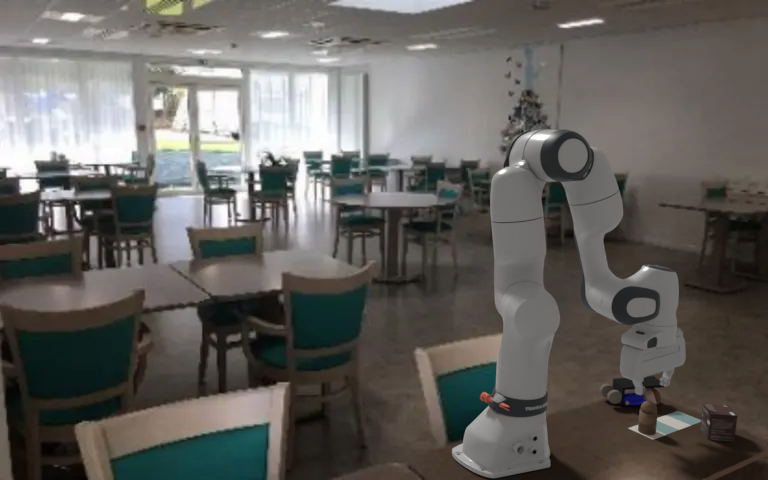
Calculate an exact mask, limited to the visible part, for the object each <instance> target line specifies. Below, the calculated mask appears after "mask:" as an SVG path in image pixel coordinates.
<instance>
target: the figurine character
mask: <svg viewBox="0 0 768 480" xmlns="http://www.w3.org/2000/svg"><path fill="white" fill-rule="evenodd" d="M642 385H643V387H646V388H645V394H643V395H638V394H636V393H635V391H634V392H626V391H627V390H629V391H630V390H635V386H634V383H633V381H632V380H630V379H627V378H624V377H617V378H616V377H615V378H613V379H612V384H610V383H603V384H602V385H600V387H599V393H600V394H601V396H603V397H605V398H606V399H607V400H608V401H609V402H610V403H611V404H614V405H615V404H618V405H620V406H622V407H623V406H641V404H642V403H643V402H644V401H652V402H654V403H655V405H656V406H658V405H659V404H660V403H661V400H662V396H661V393H660V391H658V388H659V389H660V388H665V387H664V386H661V385H660V379H659V378H657V377H656V376H655V375H650V376H647V377H644V379H643V382H642Z"/></svg>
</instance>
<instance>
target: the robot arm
mask: <svg viewBox="0 0 768 480" xmlns="http://www.w3.org/2000/svg"><path fill="white" fill-rule="evenodd" d="M547 182H548V183H550V182H551V183H552V182H555V183H556V182H560V183H561V185H562V187H563V189H564V192H565V196H566V199H567V202H568V206H569V209H570V210H569V211H570V213H571V217H572V222H573V235H574V242H575V247H576V251H577V257H578V262H579V266H580V272H581V284H580V298H581V301H582V304H583V306H584V307H585V308H586V309H587V310H588V311H590V312H592V313H595V314H598V315H601V316H604V317H605V318H607V319H609V320H612V321H614V322H617V323H618V324H622V325H626V326H631V327H630V328H629V329H628V330H626V331H625V332H624V333H623V334H622V335H621V339H620V340H621V341H620V342H621V343H622V344H623V346H622V348H621V350H620V359H619V361H620V364H619V370H620V374H621V377H622V378H627V379H630V380H632V381H633V383H634V386H635V389H634V392H635V393H636V394H638V395H643V394H645V388H646V387H643V385H642V382H643V379H644V377H647V376H654V375H656V374H659V373H663V374H662V376H661V377H660V378H659V381H660V385H661V386H664V387H663V388H666V387H669V386H670V385H671V379H672V376H673V375H674V373H675V369H676V368H678V367H681V366H683V365H684V363H685V362H686V359H687V358H686V357H687V355H686V350H687V349H686V339H685V338H684V332H683V330H682V329H681V328H680V327H678V318H677V309H678V307H679V298H680V296H679V295H680V289H679V288H680V285H679V278H678V274H677V272H676V271H675V270H673V269H672V268H669V267H667V266H662V265H658V264H649V263H648V264H647V263H646V264H643V265H642V266H641V268H640V269H639V270H638V271H637V272H635V273H634V274H633V275H631V276H629V277H627V278H623V279H622V278H620V277H617V276H616V275H615V274H614V273H613V272H612V271H611V270H610V268H609V265H608V259H607V253H606V249H605V244H604V238H605V236H606V234H607V233H610V232H611V231H613V230H614V229H615V228H616V227H617V226H619V224H620V222H621V221H622V219H623V217H624V205H623V198H622V196H621V195H622V194H621V191H620V189H619V185H618V182H617V178H616V176H615V174H614V171H613V168H612V166H611V164H610V162H609V160H608V158H607V156H606V154H605V152H604V151H603V150H602V149H600V148H599V147H596V146H591V145H590V143H588V141H587V140H586V138H585V137H584V136H583V135H581V134H580V133H579V132H576V131H573V130H572V129H571V130H570V129H562V128H561V129H551V128H541V129H536V130H528V131H524V132H521V133H520V134H518V135H516V136H514V138H513V139H512V140H511V141H510V143H509V144H508V146H507V149H506V153H505V159H504V162H503V168H501V169H499V170H498V171H497V172H495V173H494V175H493V176H492V179H491V183H490V193H489V195H490V196H489V200H490V201H489V202H490V203H489V204H490V205H489V209H490V210H489V211H490V212H489V213H490V224H491V234H492V245H493V258H494V259H493V260H494V263H493V264H494V266H493V286H494V287H493V288H494V289H493V291H494V293H493V295H494V296H493V297H494V304H495V308H496V310H497V312H498V314H499V315H500V316H501V318H502V322H503V323H502V324H503V325H502V328H503V331H502V336H501V340H500V346H499V350H498V352H497V354H496V368H495V369H496V372H495V373H496V374H495V386H494V388H492V389H493V390H492V393H491V394H489V393H487V392H486V391H483V392H482V393H481V394H480V395H479V400H480V401H482V402H485V403H486V404H488V406H486V408H484V410H483V411H482V412H481V413H479V415H478V416H477V417H475V419H474V420H473V421H472V422H471V423H470V424H468V426H466V428H465V431H464V434H463V441H462V443H460V444H458V445H456V446H454V447H452V448H451V454H452V455H451V456H452V457H453V458H454V460H455V461H456V462H458V463H459V464H460V465H461V466H462V467H464V468H466V469H467V470H469V471H471V472H472V473H474V474H476V475H478V476H479V475H480V476H482V477H485V478H489V479H498V478H502V477H503V478H504V477H508V476H513V475H517V474H523V473H528V472H532V471H538V470H544V469H549V468H550V467H551V463H552V462H551V459H550V456H551V449H550V447H549V440H548V439H549V437H548V436H549V435H548V426H547V417H546V412H547V410H548V404H549V392H548V391H547V383H548V371H549V370H548V369H549V368H548V367H549V358H550V354H551V349H552V345H553V342H554V339H555V338H554V337H555V334H556V332H557V330H558V329H559V326H560V323H561V314H560V310H559V306H558V302H557V301H556V299H555V298H554V296H553V295H552V294H550V293H549V292H548V291H547V290H546V288H545V285H544V267H545V259H546V258H545V257H546V256H547V243H546V242H547V241H546V230H545V219H544V207H543V202H542V195H543V192H544V187H545V185H546V183H547Z"/></svg>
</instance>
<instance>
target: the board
mask: <svg viewBox="0 0 768 480" xmlns="http://www.w3.org/2000/svg"><path fill="white" fill-rule="evenodd" d="M696 424H701V418H700V419H699V418H697V417H695V416H692V415H689V414H687V413H684V412H681V411H679V410H676V411H674V412H671V413H668V414H665V415H661V416H659V417H657V426H656V434H654V435H645V434H642V433H640V432H639V431H638V424H636V425H633V426H630V427H627V429H629V430H631V431H633V432H635V433H638V434H639V435H642V436H644V437H646V438H648V439H650V440H656V439H660V438H662V437H664V436H666V435H669V434H672V433H675V432H677V431H680V430H683V429H686V428H689V427H691V426H693V425H696Z"/></svg>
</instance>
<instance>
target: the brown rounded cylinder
mask: <svg viewBox="0 0 768 480" xmlns="http://www.w3.org/2000/svg"><path fill="white" fill-rule="evenodd" d="M638 412H639V414H638V424H637V425H638V431H639V432H640V433H642V434H645V435H654V434H656V426H657V418H658V413H659V412H658V405H655V403H654V402H652V401H644V402H643V403H642V404H640V408H639V411H638Z"/></svg>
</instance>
